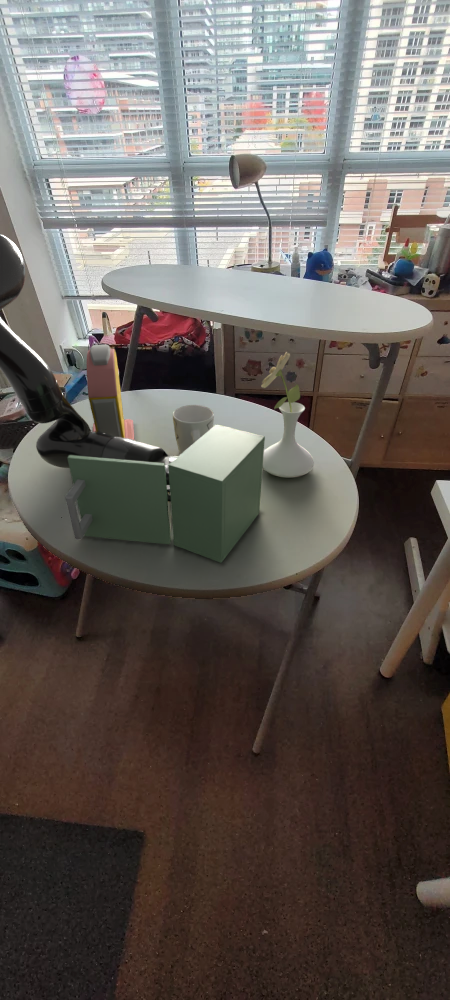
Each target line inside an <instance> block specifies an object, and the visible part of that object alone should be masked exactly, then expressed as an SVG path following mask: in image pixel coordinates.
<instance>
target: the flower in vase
mask: <svg viewBox="0 0 450 1000" xmlns="http://www.w3.org/2000/svg"><path fill="white" fill-rule="evenodd" d="M290 357H291V353H289V352H288V351H285V353H284V355H283V354H281V355H280V357H278V360H277V363H276V366H271V368H270V369H269V372H268V373H269V374H268V375H267V376H266V377H265V378H263V380H262V381H261V385H260V386H261V388H263V389H266V388H267V387H269V386H270V385H271V384H272V382H274V380H275V379H277V377H280V378H281V381H282V383H283V386H284V389H285V394H286V396H284V397H282V398H281V399H280V400H278V402H277V403H276V404H275V405H274V407H273V408H274V409H273V410H275V409H279V411H280V413H281V414H282V418H283V434H282V438H281V439H280V440H279V441H278V442H276V443H274V444H271V445H270V446H268V447H267V448H264V455H263V468H262V470H264V471H265V472H267V473H268V474H270V475H272V476H276V477H278V478H279V477H280V478H290V479H291V478H299V477H302V476H305V475H306V474H308V473H309V472H310V471H311V470H313V468H314V466H315V461H314V458H313V455H312V454H311V453H310V451H308V450H307V449H306V448H305V447H303V446H302V445H300V444H299V443H298V442H297V441H296V427H297V424H298V420H299V418H300V416H301V415H302V413H303V412H304V411H305V409H306V407H305V405H303V404H302V403H299V402H297V401H299V400H300V399H301V391H300V387H299V384H296V385H294V386H293V387H291V389H288V386H287V383H286V380H285V378H284V375H283V369H284V368H285V366H286V364H287V363H288V361H289V359H290Z"/></svg>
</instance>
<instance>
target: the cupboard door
mask: <svg viewBox="0 0 450 1000" xmlns="http://www.w3.org/2000/svg"><path fill="white" fill-rule="evenodd" d="M68 463H69V467H70V468H69V472H70V476H71V480H72V487H71V488H70V489H69V491H67V493H66V495H64V500H65V503H66V508H67V512H68V516H69V520H70V524H71V528H72V532H73V536H74V539H75V540H76V541H79V540H80V541H81V540H82V539H83V538H84V536H85V537H92V538H101V539H112V540H120V541H121V540H122V541H130V542H131V541H132V542H141V543H149V544H150V543H151V544H158V545H159V544H161V545H168V546H169V545H171V542H172V537H171V525H170V512H169V502H168V498H167V485H166V472H165V463H156V462H144V461H132V460H121V459H109V458H97V457H85V456H73V455H69V456H68ZM76 503H77V506H76ZM77 508H78V509H77ZM78 512H79V514H78ZM79 517H80V519H79Z"/></svg>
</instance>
